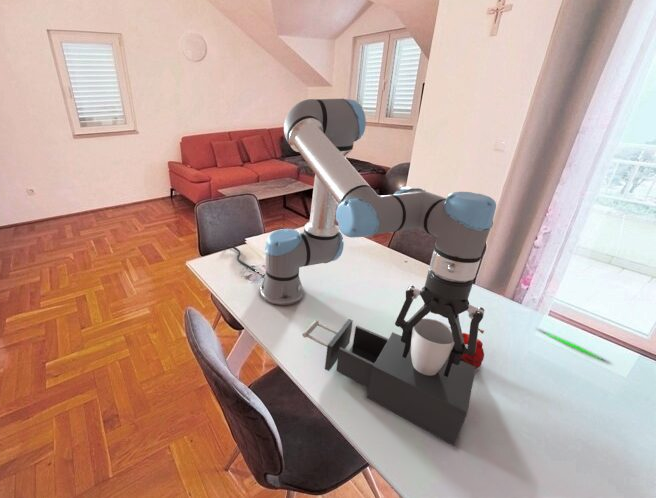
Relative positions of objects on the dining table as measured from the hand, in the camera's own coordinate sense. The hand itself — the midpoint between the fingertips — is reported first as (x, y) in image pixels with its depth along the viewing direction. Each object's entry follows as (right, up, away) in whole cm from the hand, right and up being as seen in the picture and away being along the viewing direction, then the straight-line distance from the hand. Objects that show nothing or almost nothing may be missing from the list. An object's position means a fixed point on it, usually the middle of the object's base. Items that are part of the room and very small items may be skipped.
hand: (425, 362), depth 69 cm
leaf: (+52, -4, +20) cm, 56 cm away
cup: (0, -1, +1) cm, 1 cm away
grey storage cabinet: (0, -10, +4) cm, 11 cm away
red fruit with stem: (+17, -6, +14) cm, 23 cm away
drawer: (-13, -5, +13) cm, 19 cm away
